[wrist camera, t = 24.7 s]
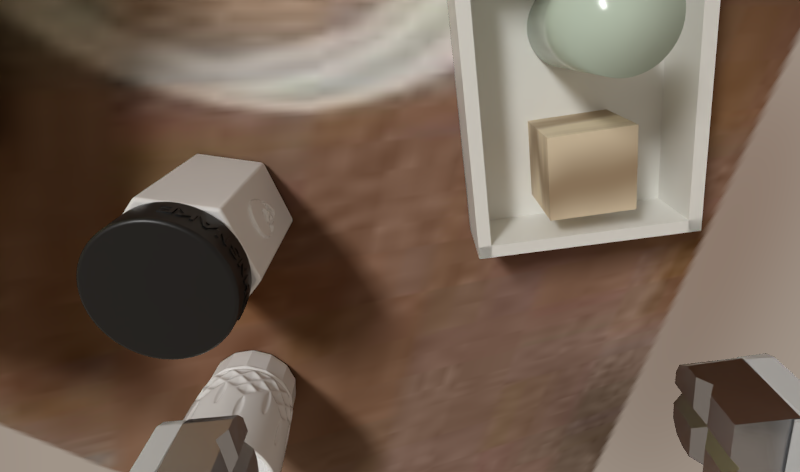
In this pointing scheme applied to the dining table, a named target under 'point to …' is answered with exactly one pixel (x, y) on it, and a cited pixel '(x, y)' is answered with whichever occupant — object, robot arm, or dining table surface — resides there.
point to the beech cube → (583, 164)
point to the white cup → (253, 402)
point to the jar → (184, 257)
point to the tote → (571, 94)
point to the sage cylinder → (605, 34)
